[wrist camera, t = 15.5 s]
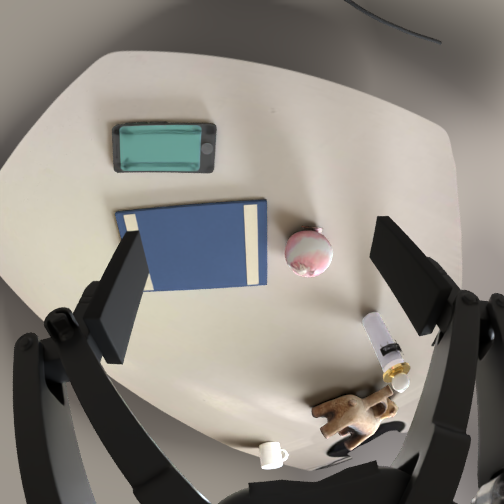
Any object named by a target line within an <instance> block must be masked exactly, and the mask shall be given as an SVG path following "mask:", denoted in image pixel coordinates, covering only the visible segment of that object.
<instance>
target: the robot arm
mask: <svg viewBox="0 0 504 504" xmlns="http://www.w3.org/2000/svg"><path fill="white" fill-rule="evenodd" d="M344 1H346V2H347V3H349V4H350V5H352V6H353V7H355V8H356V9H358V10H359V11H361V12H363V13H364V14H366V15H368V16H369V17H371V18H373V19H375V20H377V21H379V22H381V23H383V24H386V25H388V26H390V27H393V28H395V29H397V30H400V31H402V32H404V33H407V34H409V35H412V36H415V37H418V38H421V39H424V40H428V41H431V42H434V43H437V44H440V45H441V44H442V42H441V41H439V40H437V39H434V38H431V37H427V36H425V35H421V34H418V33H415V32H413V31H410V30H407V29H405V28H403V27H400V26H398V25H396V24H393V23H391V22H389V21H386V20H384V19H382V18H380V17H378V16H376V15H374V14H373V13H371V12H369V11H367V10H365V9H364V8H362V7H361V6H359V5H358V4H356V3H355V2H353V1H351V0H344ZM370 259H371V260H372V262H373V263H374V265H375V266H376V268H377V269H378V271H379V272H380V274H381V275H382V277H383V278H384V280H385V281H386V283H387V284H388V286H389V287H390V289H391V290H392V292H393V294H394V295H395V297H396V298H397V300H398V302H399V303H400V305H401V306H402V308H403V310H404V311H405V313H406V315H407V316H408V318H409V320H410V321H411V323H412V325H413V326H414V328H415V330H416V331H417V333H418V335H419V336H423V335H427V334H431V333H432V332H433V330H434V328H435V326H436V324H437V325H438V327H439V329H440V330H439V332H438V334H437V336H436V338H435V340H434V342H433V344H432V345H431V346H434V344H435V347H434V351H433V355H432V359H431V363H430V367H429V371H428V374H427V378H426V381H425V384H424V388H423V391H422V394H421V397H420V400H419V403H418V406H417V409H416V412H415V415H414V418H413V421H412V423H411V426H410V429H409V431H408V434H407V436H406V439H405V441H404V444H403V446H402V448H401V451H400V453H399V454H398V456H397V458H396V459H395V460H394V462H393V463H392V465H391V466H390V467H387V466H378V465H377V462H376V460H375V461H372V462H369V463H365V464H362V465H358V466H354V467H349V468H346V469H344V470H342V471H341V472H339V473H336V474H334V475H332V476H330V477H328V478H325V479H323V480H321V481H318V482H300V481H288V480H276V481H266V482H254V483H248V484H249V488H246V489H243V490H240V491H238V492H235V493H233V494H231V495H230V496H228V497H226V498H225V499H224V500H222V501H221V502H220V503H218V504H457V503H455V502H453V499H454V496H455V493H456V490H457V488H458V485H459V482H460V479H461V475H462V472H463V469H464V466H465V462H466V458H467V455H468V451H469V447H470V442H471V437H470V435H467V434H466V428H467V424H468V419H469V414H470V409H471V404H472V398H473V392H474V385H475V380H476V389H477V390H476V391H477V405H478V435H479V436H478V437H479V438H478V439H479V440H478V441H479V442H478V487H479V491H478V492H477V495H476V496H475V497H474V498H473V499H472V501H471V504H504V296H503V295H502V294H498V293H494V294H492V295H491V297H490V299H489V301H479V299H478V297H477V296H476V295H475V294H474V293H472V292H470V291H467V290H460V288H459V287H458V286H457V285H456V283H455V282H454V281H453V280H452V279H451V277H450V276H449V275H447V273H446V272H445V270H443V268H442V267H441V266H440V265H439V264H438V262H436V261H435V260H433V259H432V258H430V257H426V256H425V254H424V253H423V252H422V251H421V250H420V249H419V248H418V247H417V246H416V244H415V243H414V242H413V241H412V240H411V239H410V238H409V237H408V236H407V235H406V234H405V233H404V232H403V231H402V229H401V228H400V227H399V226H398V225H397V224H396V223H395V222H394V221H393V220H392V219H391V218H390V217H389V216H377V221H376V226H375V232H374V237H373V242H372V247H371V252H370ZM148 275H149V268H148V264H147V260H146V256H145V252H144V248H143V244H142V240H141V236H140V231H139V230H135V231H126V233H125V234H124V236H123V238H122V240H121V242H120V243H119V245H118V247H117V249H116V251H115V253H114V255H113V256H112V258H111V260H110V262H109V264H108V266H107V268H106V270H105V272H104V274H103V276H102V278H101V280H100V281H93V282H91V283H90V284H89V285H88V286H87V287H86V288H85V290H84V292H83V294H82V297H81V298H80V300H79V303H78V304H77V306H76V308H75V310H74V312H73V313H72V311H71V310H70V309H69V308H65V307H62V308H58V309H55V310H53V311H52V312H50V313H49V314H48V315H47V317H46V318H45V321H44V326H45V328H46V330H47V332H48V333H49V335H50V336H51V338H47V339H43V340H39V338H38V336H37V335H36V334H35V333H26V334H24V335H23V336H21V337H20V338H19V339H18V340H17V342H16V344H15V347H14V363H13V412H14V427H15V438H16V448H17V455H18V462H19V468H20V474H21V480H22V485H23V489H24V493H25V498H26V502H27V504H96V502H95V499H94V496H93V493H92V491H91V488H90V485H89V482H88V479H87V475H86V472H85V469H84V466H83V463H82V459H81V455H80V451H79V447H78V443H77V440H76V436H75V431H74V427H73V422H72V417H71V412H70V407H69V400H68V394H67V389H66V382H69V381H70V382H71V385H72V387H73V389H74V391H75V393H76V395H77V397H78V399H79V401H80V403H81V405H82V407H83V409H84V411H85V413H86V415H87V416H88V418H89V420H90V422H91V424H92V426H93V428H94V429H95V431H96V433H97V434H98V436H99V438H100V440H101V441H102V443H103V444H104V446H105V448H106V449H107V451H108V453H109V454H110V455H111V457H112V459H113V460H114V462H115V463H116V465H117V466H118V468H119V469H120V470H121V472H122V473H123V475H124V476H125V478H126V479H127V480H128V482H129V483H130V485H131V486H132V488H133V493H134V495H135V497H136V498H137V500H138V501H139V502H140V504H211V503H210V502H209V501H208V500H207V499H206V498H205V497H204V496H203V495H202V494H201V493H200V492H199V491H198V490H197V489H196V488H195V487H194V486H193V485H192V484H191V483H190V482H189V481H188V480H187V479H186V478H185V477H184V476H183V475H182V473H180V471H179V470H178V469H177V468H176V467H175V466H174V464H173V463H172V462H171V461H170V460H169V459H168V458H167V457H166V455H165V454H164V453H163V452H162V450H161V449H160V448H159V447H158V446H157V445H156V443H155V442H154V441H153V439H152V438H151V437H150V436H149V434H148V433H147V432H146V430H145V429H144V428H143V427H142V425H141V424H140V422H139V421H138V420H137V418H136V417H135V415H134V414H133V413H132V412H131V410H130V409H129V407H128V406H127V404H126V403H125V401H124V400H123V398H122V397H121V395H120V394H119V392H118V391H117V389H116V388H115V386H114V385H113V383H112V381H111V380H110V378H109V377H108V375H107V373H106V372H105V370H104V368H103V367H102V365H101V363H100V361H101V358H102V355H103V357H104V359H105V361H106V362H107V364H123V362H124V358H125V354H126V350H127V346H128V342H129V339H130V335H131V331H132V328H133V324H134V321H135V317H136V314H137V310H138V307H139V304H140V300H141V297H142V294H143V291H144V288H145V284H146V281H147V278H148ZM493 338H494V339H493Z"/></svg>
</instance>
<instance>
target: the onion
mask: <svg viewBox="0 0 504 504" xmlns="http://www.w3.org/2000/svg"><path fill="white" fill-rule="evenodd" d="M302 228H305V229H306V228H313V231H310V230H305V231H299V232H297V233H295V234H293V235H292V236H290V238H289V239H288V242H287V244H286V248H285V258H286V262H287V264H288V266H289V267H290V268H291V270H292V271H293V272H294V273H295V274H298V275H300V276H303V277H314V276H317V275H319V274H321V273H322V272H324V271H325V270H326V269H327V267H328V266H329V264H330V262H331V260H332V256H333V249H332V246H331V244H330V242H329V241H328V240H327V238H326V237H325V236H324V235H322V234H321V233H322V231H323V228H317V227H310V226H309V227H307V226H302Z"/></svg>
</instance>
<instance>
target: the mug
mask: <svg viewBox="0 0 504 504" xmlns="http://www.w3.org/2000/svg"><path fill="white" fill-rule="evenodd" d="M281 451H283V452H284V454H285V457H284V458H283V459H282V458H281ZM259 452H260V461H261V468H263V469H274V468H279V467H281V466H282V461H285V460H286V459H287V457H288V453H287V452H286V451H285V450H284V449H280V445H279V443H277V442H267V443H263V444H261V445H259Z"/></svg>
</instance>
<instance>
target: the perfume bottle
mask: <svg viewBox="0 0 504 504" xmlns="http://www.w3.org/2000/svg"><path fill="white" fill-rule="evenodd" d="M362 325H363V327H364V329H365V331H366V333H367V335H368V338H369V340H370V342H371V344H372V347H373V349H374V351H375V353H376V356H377V358H378V360H379V363H380V365H381V367H382V370H383V372H384V375H383V380H384V382H387V383H390V382H391V384H392V387H393V389H394V390H396V391H404V390H405V389H407V388H408V386H409V383H410V379H409V376H408V375H407V373H408V372H409V370H410V366H409V364H408V363H406V362H404V360H403V358H402V356H401V354H400V352H399V351H402V350H401V348H400V346H399V344H397V343H395V342H394V340H393V338H392V336H391V334H390V332H389V330H388V328H387V327H386V325H385V323H384V321H383V319H382V317H381V315H380V314H379V313H378V312H372V313H369V314H368V315H366V316H365V317H364V318H363V320H362ZM395 341H396V340H395ZM396 345H397V346H396ZM402 353H403V352H402Z"/></svg>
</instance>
